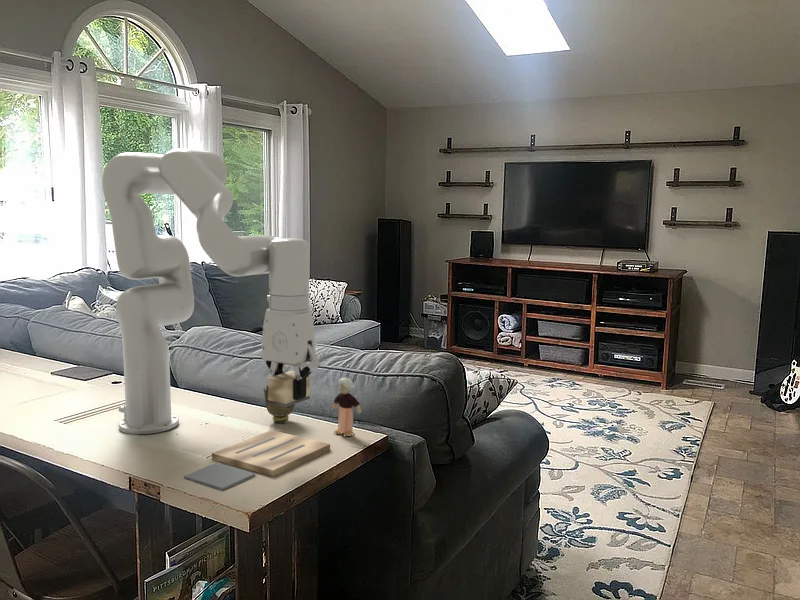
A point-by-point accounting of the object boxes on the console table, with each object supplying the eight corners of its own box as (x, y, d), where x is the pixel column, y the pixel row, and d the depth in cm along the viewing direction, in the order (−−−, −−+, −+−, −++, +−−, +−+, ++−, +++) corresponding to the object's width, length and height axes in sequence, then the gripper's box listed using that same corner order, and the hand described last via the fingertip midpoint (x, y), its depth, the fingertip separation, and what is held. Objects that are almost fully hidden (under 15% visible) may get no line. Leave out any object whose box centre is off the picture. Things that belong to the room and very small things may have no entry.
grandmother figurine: (326, 434, 152) (326, 377, 150) (334, 429, 155) (334, 374, 154) (357, 439, 149) (357, 381, 147) (365, 434, 152) (366, 377, 151)
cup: (290, 427, 156) (289, 392, 155) (259, 425, 158) (258, 390, 157) (301, 417, 164) (301, 384, 162) (271, 415, 165) (271, 382, 164)
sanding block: (268, 403, 134) (268, 377, 133) (292, 394, 139) (292, 370, 139) (285, 407, 131) (285, 381, 131) (309, 398, 137) (309, 373, 136)
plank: (211, 458, 137) (211, 453, 136) (271, 435, 151) (271, 429, 151) (273, 476, 128) (272, 470, 128) (330, 449, 142) (330, 444, 142)
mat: (183, 477, 127) (183, 475, 127) (216, 464, 134) (216, 462, 134) (222, 490, 122) (222, 488, 122) (255, 475, 129) (255, 473, 128)
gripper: (242, 301, 134) (244, 393, 137) (311, 310, 125) (311, 408, 128) (269, 297, 140) (270, 385, 143) (336, 305, 131) (336, 399, 134)
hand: (289, 395), depth 135 cm, fingers closed on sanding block, 4 cm apart
